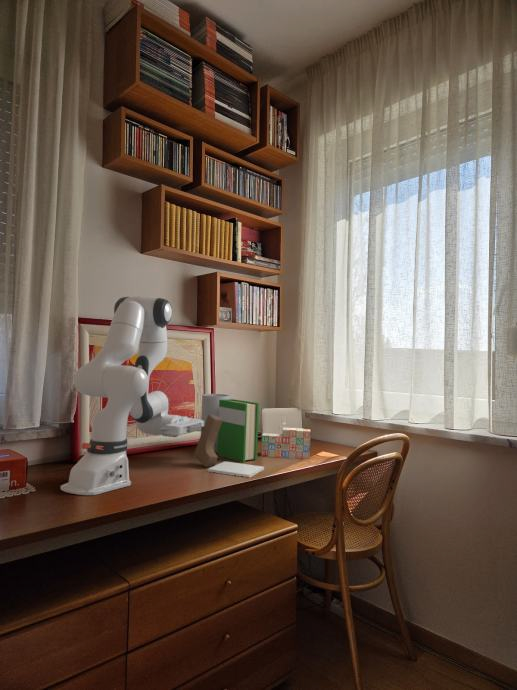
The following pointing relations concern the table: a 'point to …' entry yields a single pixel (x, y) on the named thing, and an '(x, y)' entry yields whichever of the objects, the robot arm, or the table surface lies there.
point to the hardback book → (238, 430)
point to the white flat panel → (236, 469)
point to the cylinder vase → (211, 409)
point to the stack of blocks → (287, 444)
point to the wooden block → (208, 441)
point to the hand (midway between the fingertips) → (202, 428)
